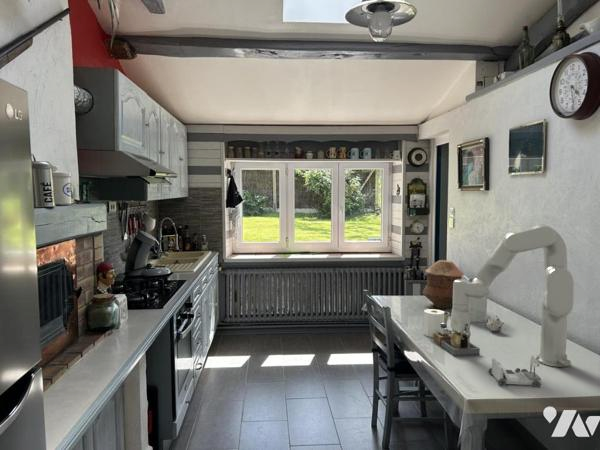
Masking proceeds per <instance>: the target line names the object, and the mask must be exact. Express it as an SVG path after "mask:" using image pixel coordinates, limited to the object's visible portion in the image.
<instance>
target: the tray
mask: <svg viewBox="0 0 600 450" xmlns="http://www.w3.org/2000/svg"><path fill="white" fill-rule="evenodd" d="M440 347H441V349H443V350H445V351H446V352H447V353H449V354H450V355H451V354H452V356H453V357H465V356H467V357H468V356H480V350H481V349H480V347H478V346H477V345H475V344H473V343H471V342H470V348H464V349H456V348H455V347H453V346H452V345H451V340H445V341H441V346H440Z"/></svg>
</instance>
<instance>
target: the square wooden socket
mask: <svg viewBox="0 0 600 450" xmlns="http://www.w3.org/2000/svg"><path fill="white" fill-rule="evenodd" d="M445 340H451V333H449V332H447V333H446V336H440V332H434V333H433V337H432V342H433V343H434V344H436V345H437V346H438V347H441V341H445Z"/></svg>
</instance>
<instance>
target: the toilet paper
mask: <svg viewBox="0 0 600 450" xmlns="http://www.w3.org/2000/svg"><path fill="white" fill-rule="evenodd" d="M442 322H443V323H444V310H441V309H434V308H431V309H430V308H427V309H424V310H423V335H424V336H425V337H426V336H427V337H431V338H433V333H434V332H440V331H441V327H440V323H442Z"/></svg>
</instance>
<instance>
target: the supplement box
mask: <svg viewBox="0 0 600 450" xmlns="http://www.w3.org/2000/svg"><path fill="white" fill-rule="evenodd" d="M487 306H488V296H487V297H485V298H483V299H478V298H473V297H470V311H469V313H470V323H471V322H472V323H474V322H475V323H487V316H488V315H487V310H488V309H487V308H488V307H487Z"/></svg>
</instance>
